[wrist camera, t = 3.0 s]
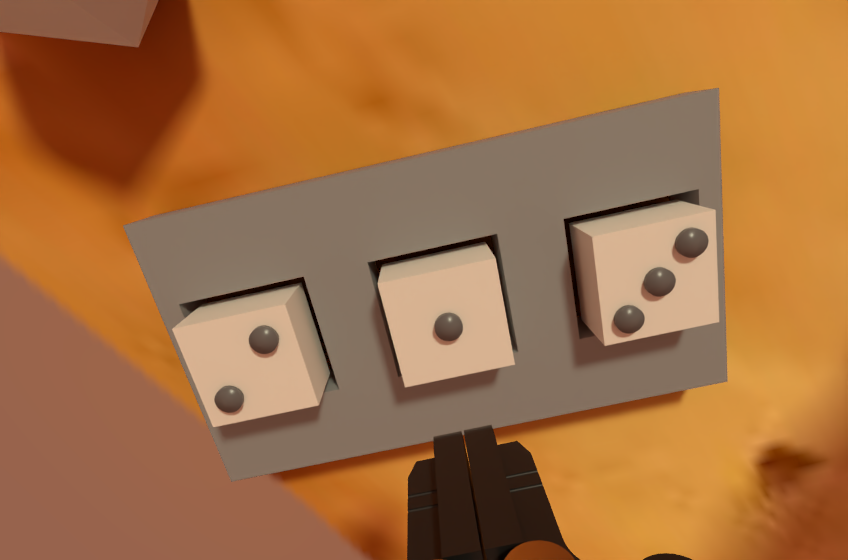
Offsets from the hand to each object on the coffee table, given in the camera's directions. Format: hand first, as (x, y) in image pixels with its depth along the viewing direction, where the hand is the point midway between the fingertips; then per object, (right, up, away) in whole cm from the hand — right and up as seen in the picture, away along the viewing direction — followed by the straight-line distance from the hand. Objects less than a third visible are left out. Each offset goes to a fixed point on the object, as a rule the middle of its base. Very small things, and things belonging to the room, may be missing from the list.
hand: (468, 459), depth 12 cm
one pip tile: (0, +3, +11) cm, 12 cm away
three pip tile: (+9, +5, +11) cm, 15 cm away
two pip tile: (-9, +2, +12) cm, 15 cm away
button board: (0, +4, +13) cm, 13 cm away
